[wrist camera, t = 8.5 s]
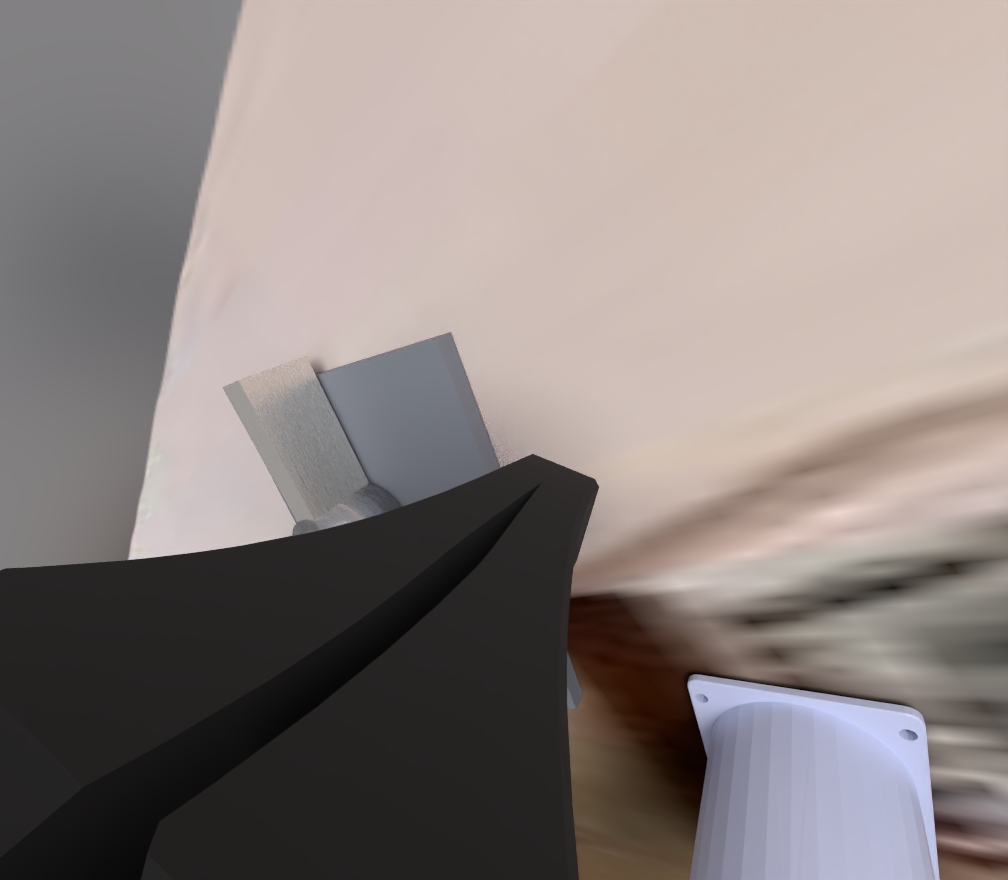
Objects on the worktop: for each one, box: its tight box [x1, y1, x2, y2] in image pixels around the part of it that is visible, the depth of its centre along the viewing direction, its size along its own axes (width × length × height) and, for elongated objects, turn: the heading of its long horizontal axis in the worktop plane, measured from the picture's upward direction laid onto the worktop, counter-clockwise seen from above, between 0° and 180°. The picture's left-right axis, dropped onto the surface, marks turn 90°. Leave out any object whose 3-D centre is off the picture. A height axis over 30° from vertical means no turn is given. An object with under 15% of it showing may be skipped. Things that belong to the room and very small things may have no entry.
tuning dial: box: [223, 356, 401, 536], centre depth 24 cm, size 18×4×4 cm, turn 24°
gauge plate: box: [267, 332, 583, 710], centre depth 27 cm, size 20×16×1 cm
